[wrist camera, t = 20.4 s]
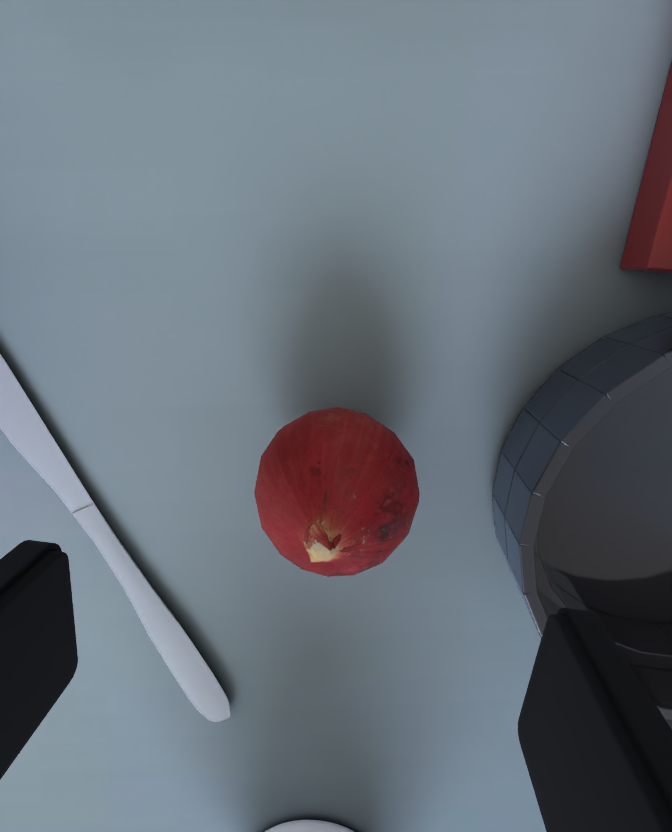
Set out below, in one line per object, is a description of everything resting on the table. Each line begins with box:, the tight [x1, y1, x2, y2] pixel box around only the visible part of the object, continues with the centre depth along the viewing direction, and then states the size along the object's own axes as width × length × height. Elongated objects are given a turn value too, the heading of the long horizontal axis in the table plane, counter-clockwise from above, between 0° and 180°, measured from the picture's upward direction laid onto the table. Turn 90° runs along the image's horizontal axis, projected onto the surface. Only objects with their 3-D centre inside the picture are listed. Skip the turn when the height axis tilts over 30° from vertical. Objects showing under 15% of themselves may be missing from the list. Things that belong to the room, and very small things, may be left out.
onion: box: [255, 408, 419, 576], centre depth 17 cm, size 6×6×8 cm
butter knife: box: [0, 354, 230, 722], centre depth 23 cm, size 1×27×3 cm
